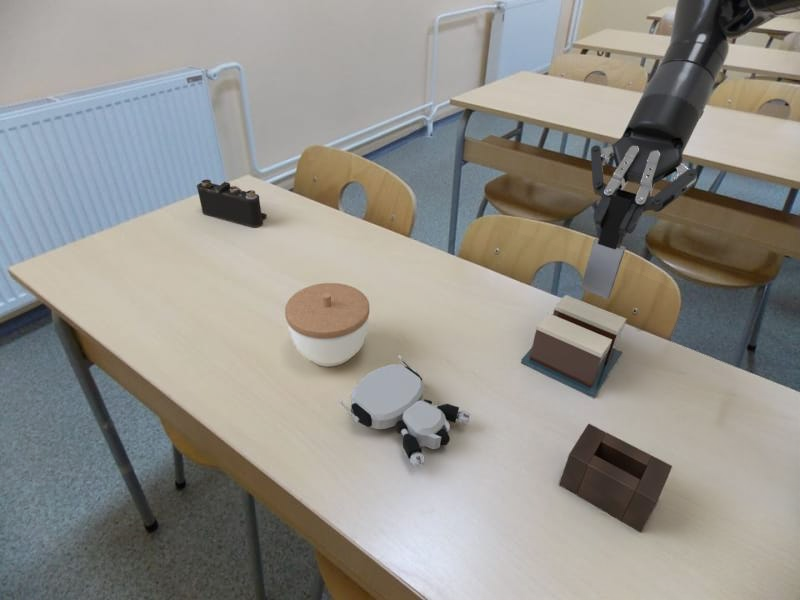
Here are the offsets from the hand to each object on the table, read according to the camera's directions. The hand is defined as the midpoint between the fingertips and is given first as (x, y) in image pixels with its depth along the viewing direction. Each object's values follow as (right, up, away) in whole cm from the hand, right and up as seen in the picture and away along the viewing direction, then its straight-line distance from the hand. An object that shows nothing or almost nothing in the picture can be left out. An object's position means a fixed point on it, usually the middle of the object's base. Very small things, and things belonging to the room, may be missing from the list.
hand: (610, 229), depth 65 cm
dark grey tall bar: (+1, -8, +8) cm, 11 cm away
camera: (-65, +11, +55) cm, 86 cm away
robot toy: (-26, -26, +6) cm, 37 cm away
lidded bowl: (-38, -17, +18) cm, 45 cm away
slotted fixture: (+1, -18, +17) cm, 25 cm away
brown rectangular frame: (-1, -32, -2) cm, 32 cm away
